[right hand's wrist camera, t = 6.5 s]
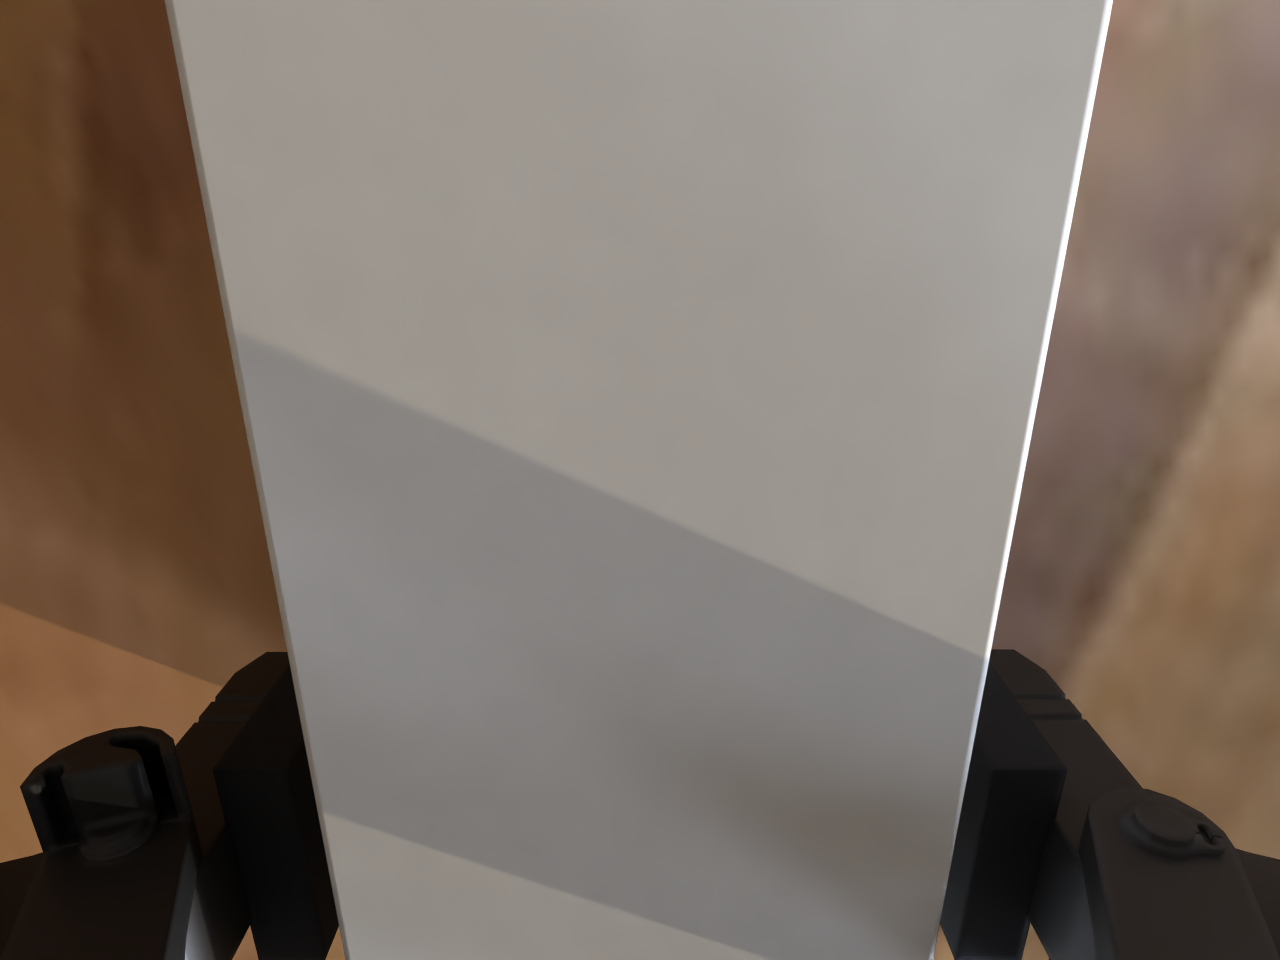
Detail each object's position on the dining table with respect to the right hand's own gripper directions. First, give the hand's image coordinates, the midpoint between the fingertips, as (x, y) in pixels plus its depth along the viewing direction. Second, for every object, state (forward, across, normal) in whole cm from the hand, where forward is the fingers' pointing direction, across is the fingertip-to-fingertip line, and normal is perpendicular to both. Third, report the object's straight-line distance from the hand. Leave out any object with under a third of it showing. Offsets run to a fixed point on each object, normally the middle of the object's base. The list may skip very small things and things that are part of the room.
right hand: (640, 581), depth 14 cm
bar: (+1, 0, -21) cm, 21 cm away
